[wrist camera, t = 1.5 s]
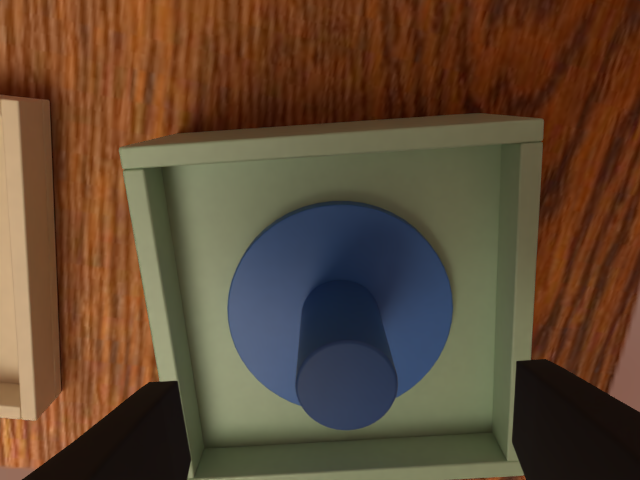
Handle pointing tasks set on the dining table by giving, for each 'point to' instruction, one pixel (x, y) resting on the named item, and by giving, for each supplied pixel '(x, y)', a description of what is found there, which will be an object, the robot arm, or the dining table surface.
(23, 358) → the tray
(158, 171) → the green square tray
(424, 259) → the blue lid
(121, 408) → the robot arm
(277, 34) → the dining table surface
